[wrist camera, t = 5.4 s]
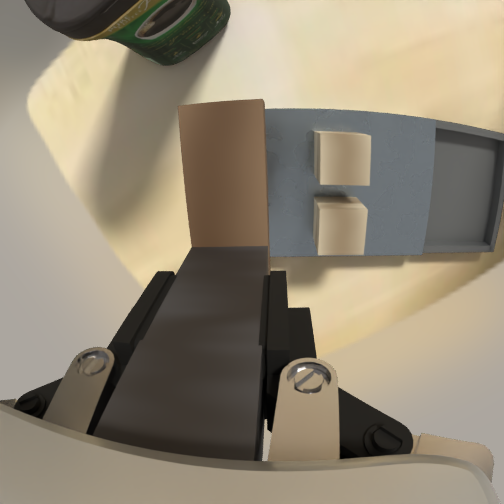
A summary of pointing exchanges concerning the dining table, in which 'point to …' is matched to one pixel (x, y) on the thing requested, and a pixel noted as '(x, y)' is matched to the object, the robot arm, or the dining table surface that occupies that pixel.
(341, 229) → the pale wooden cube
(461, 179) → the tray
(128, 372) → the brown handled push block
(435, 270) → the dining table surface
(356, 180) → the chip
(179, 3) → the coffee jar
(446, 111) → the dining table surface
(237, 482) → the robot arm
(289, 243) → the board
